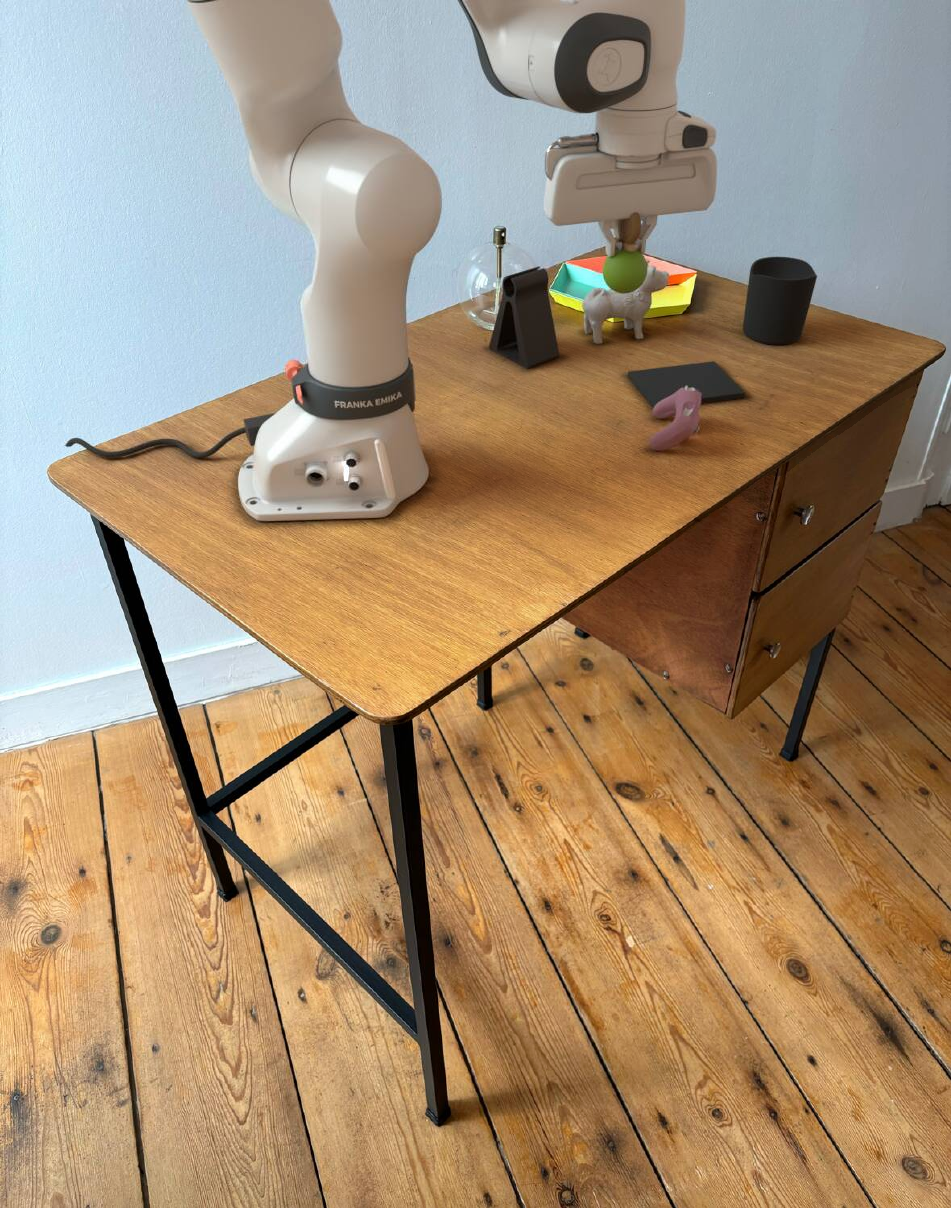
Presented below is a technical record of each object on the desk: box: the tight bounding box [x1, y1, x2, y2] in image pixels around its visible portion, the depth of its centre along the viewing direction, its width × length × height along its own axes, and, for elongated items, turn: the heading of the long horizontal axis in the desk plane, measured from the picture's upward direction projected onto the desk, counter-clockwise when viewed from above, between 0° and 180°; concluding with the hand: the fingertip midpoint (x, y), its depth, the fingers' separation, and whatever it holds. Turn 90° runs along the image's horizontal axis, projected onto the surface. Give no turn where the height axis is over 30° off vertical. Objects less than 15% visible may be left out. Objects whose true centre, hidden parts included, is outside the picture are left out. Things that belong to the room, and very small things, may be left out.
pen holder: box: [742, 256, 818, 346], centre depth 141 cm, size 9×9×10 cm
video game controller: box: [648, 385, 702, 452], centre depth 120 cm, size 10×5×7 cm, turn 168°
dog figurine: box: [581, 258, 670, 345], centre depth 142 cm, size 5×13×11 cm, turn 106°
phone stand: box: [488, 265, 560, 369], centre depth 137 cm, size 9×6×12 cm, turn 37°
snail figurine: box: [602, 212, 648, 294], centre depth 115 cm, size 5×6×12 cm
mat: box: [627, 360, 746, 409], centre depth 131 cm, size 13×10×1 cm
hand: (625, 253), depth 116 cm, fingers closed on snail figurine
